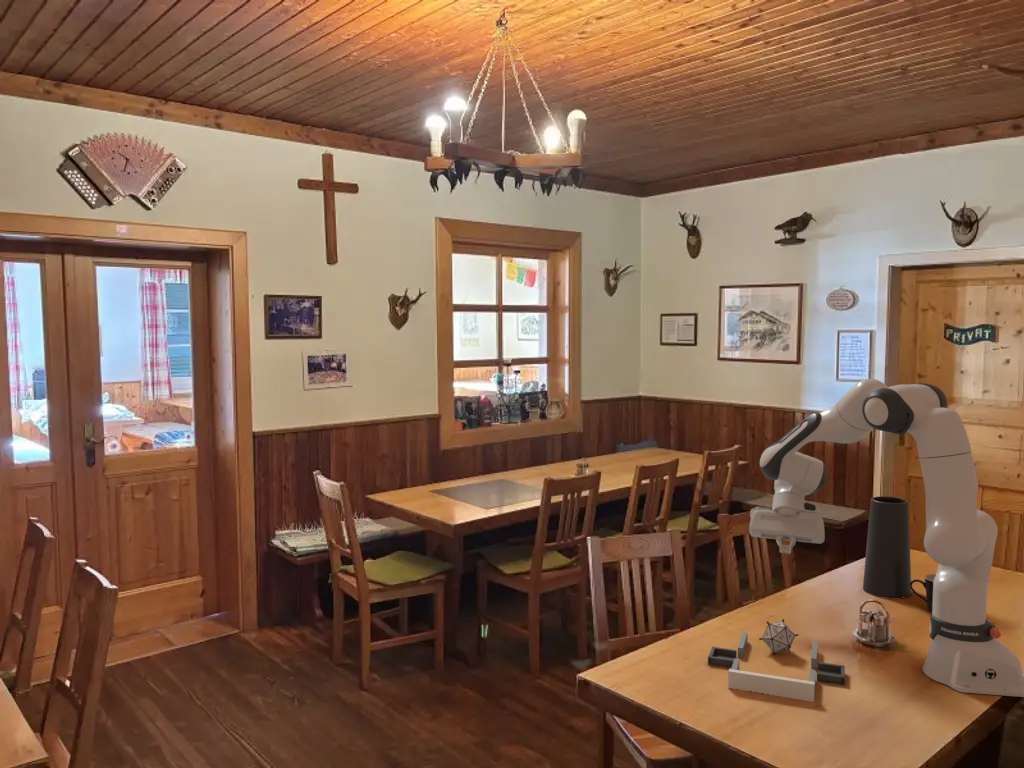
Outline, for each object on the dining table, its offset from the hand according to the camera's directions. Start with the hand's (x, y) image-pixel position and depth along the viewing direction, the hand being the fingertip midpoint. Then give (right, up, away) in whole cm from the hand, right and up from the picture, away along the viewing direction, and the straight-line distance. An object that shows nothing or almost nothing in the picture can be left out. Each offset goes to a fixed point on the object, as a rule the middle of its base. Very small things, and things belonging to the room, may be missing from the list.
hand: (784, 552), depth 222 cm
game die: (-8, -22, -19) cm, 30 cm away
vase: (+41, -18, +27) cm, 52 cm away
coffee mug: (+47, -19, +9) cm, 51 cm away
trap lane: (-12, -22, -28) cm, 38 cm away
